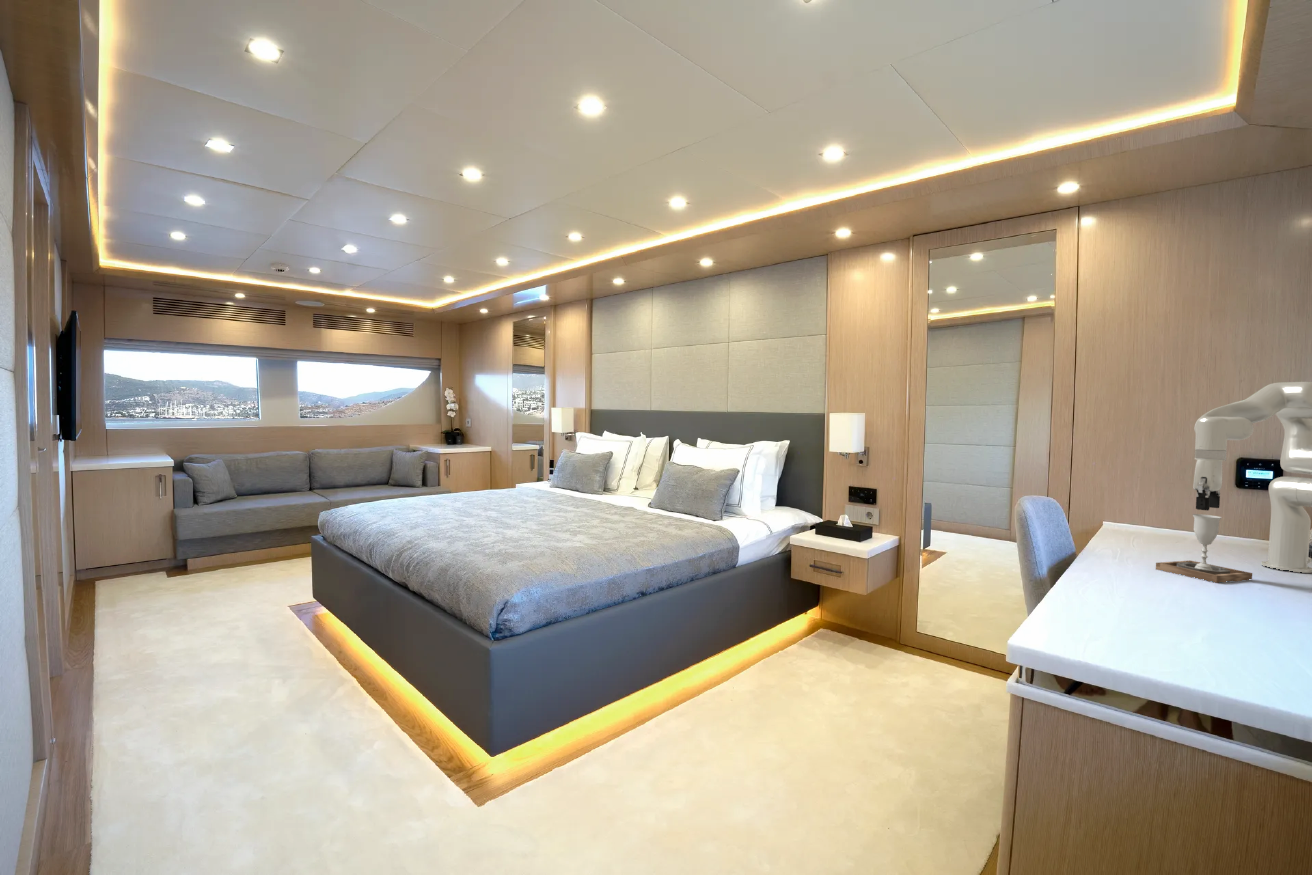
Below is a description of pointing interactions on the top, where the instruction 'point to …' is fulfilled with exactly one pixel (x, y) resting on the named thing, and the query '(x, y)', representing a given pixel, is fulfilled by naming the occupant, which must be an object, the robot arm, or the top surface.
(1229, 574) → the holder tray
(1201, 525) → the chalice
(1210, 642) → the top surface
